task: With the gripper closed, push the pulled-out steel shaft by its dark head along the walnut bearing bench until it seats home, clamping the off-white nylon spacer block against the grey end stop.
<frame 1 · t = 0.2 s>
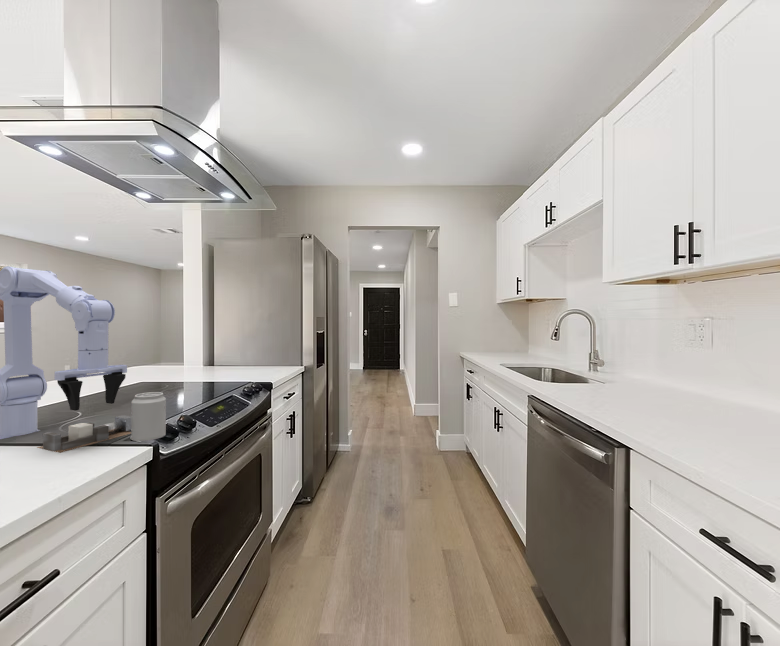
hand: (93, 406, 89), 10 cm above the table, tool pointing down, fingers open, 7 cm apart
spacer: (80, 441, 91), point 1 cm above the table, touching bearing bench
can: (148, 441, 95), on the table
shaft: (111, 426, 97), point 3 cm above the table, slide at 5.0 cm
bearing bench: (88, 443, 92), on the table
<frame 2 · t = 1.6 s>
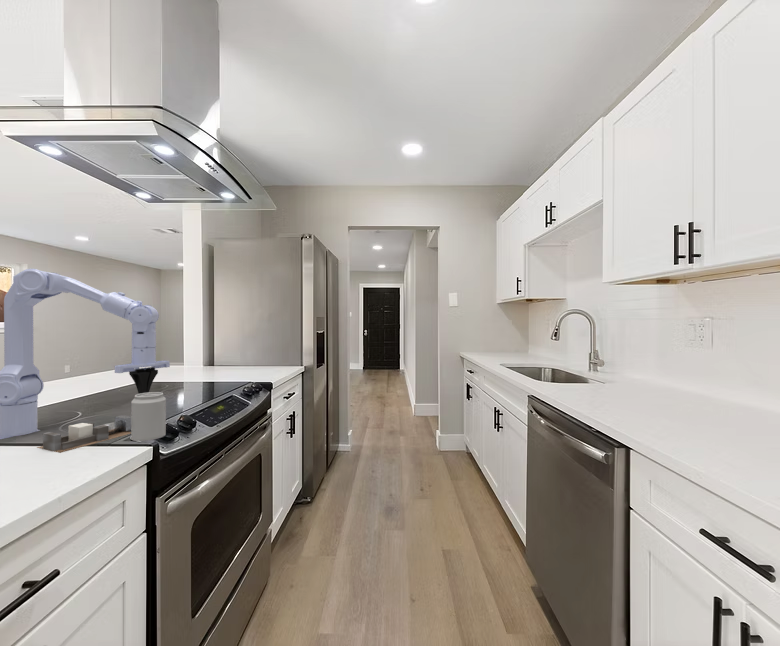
hand: (143, 395, 105), 9 cm above the table, tool pointing down, fingers closed
nothing on the table moved.
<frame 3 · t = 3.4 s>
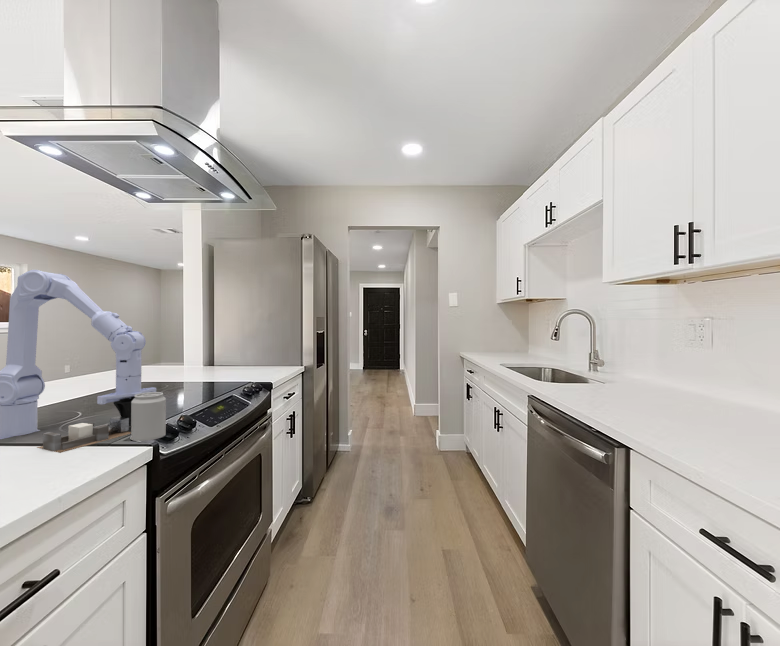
hand: (128, 425, 101), 2 cm above the table, tool pointing down, fingers closed
shaft: (106, 427, 96), point 3 cm above the table, slide at 3.7 cm, touching gripper
everything else where it was.
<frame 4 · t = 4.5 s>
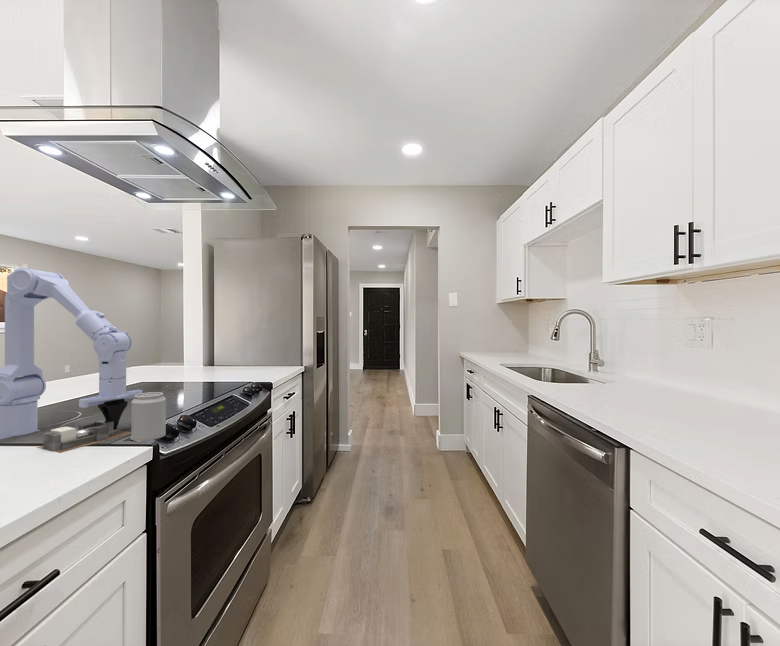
hand: (112, 429, 98), 2 cm above the table, tool pointing down, fingers closed
spacer: (63, 446, 87), point 1 cm above the table, touching bearing bench, shaft
shaft: (90, 431, 93), point 3 cm above the table, slide at -0.1 cm, touching gripper, spacer
everything else where it was.
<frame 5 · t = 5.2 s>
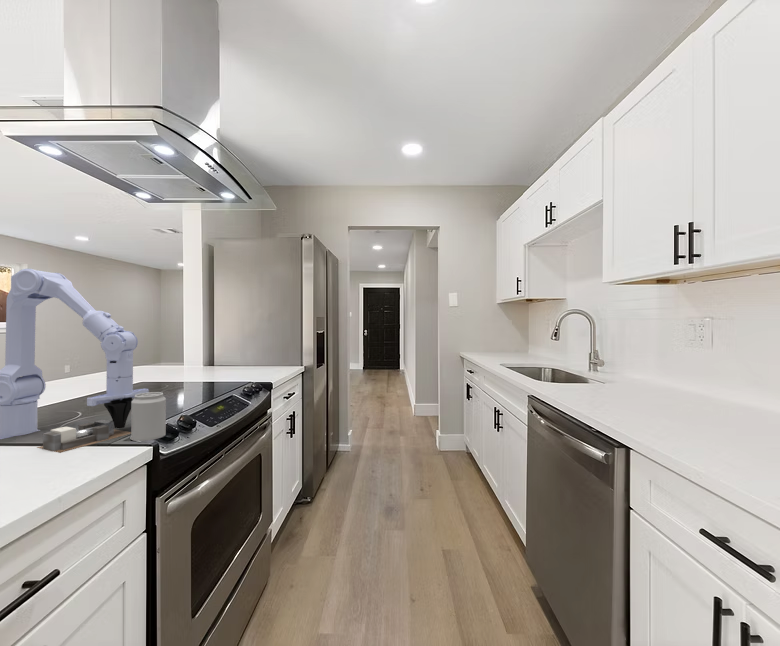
hand: (119, 427, 99), 2 cm above the table, tool pointing down, fingers closed
spacer: (63, 446, 87), point 1 cm above the table, touching bearing bench
shaft: (90, 431, 93), point 3 cm above the table, slide at 0.0 cm
everything else where it was.
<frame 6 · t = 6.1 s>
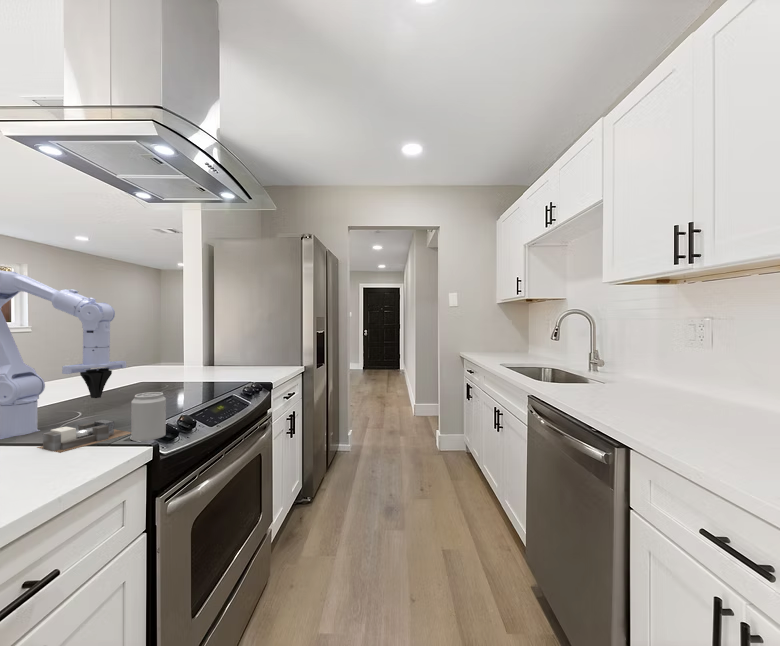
hand: (95, 397, 100), 10 cm above the table, tool pointing down, fingers closed
nothing on the table moved.
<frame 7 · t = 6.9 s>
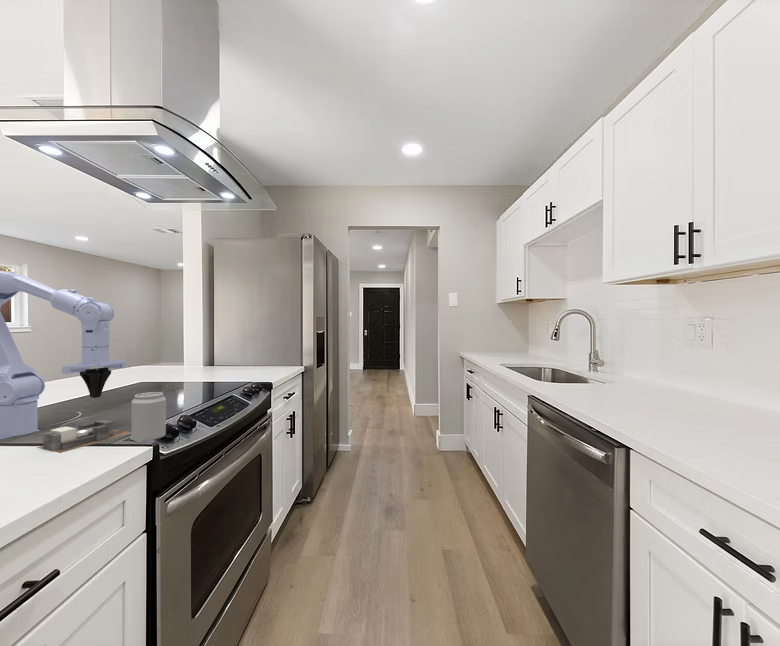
hand: (95, 397, 100), 10 cm above the table, tool pointing down, fingers closed
nothing on the table moved.
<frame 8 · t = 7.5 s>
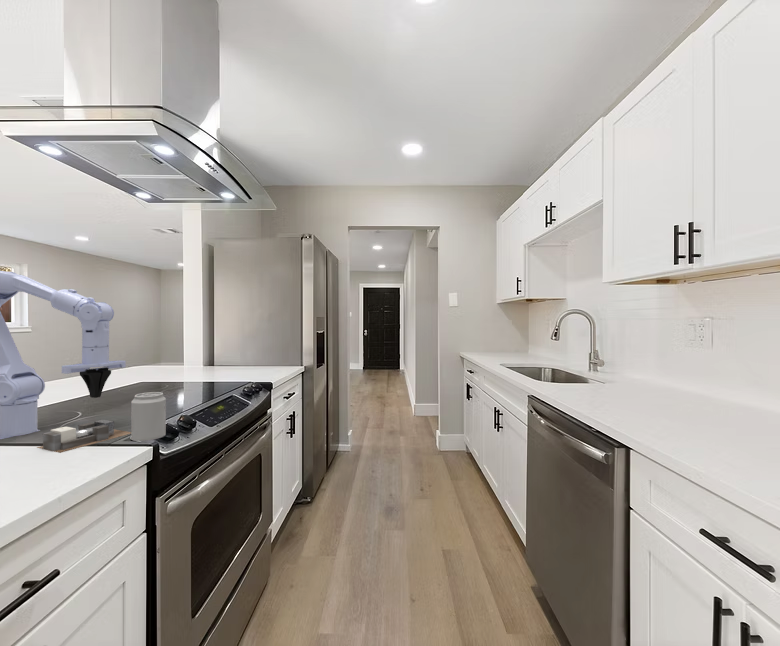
hand: (95, 397, 100), 10 cm above the table, tool pointing down, fingers closed
nothing on the table moved.
at the end: shaft slide at 0.0 cm; spacer 0.2 cm from the target spot, point 1.0 cm above the table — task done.
